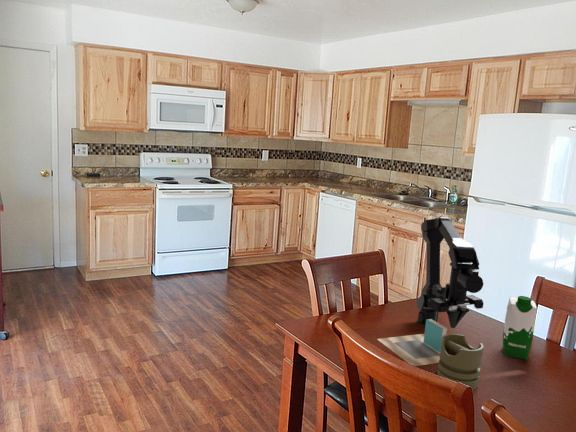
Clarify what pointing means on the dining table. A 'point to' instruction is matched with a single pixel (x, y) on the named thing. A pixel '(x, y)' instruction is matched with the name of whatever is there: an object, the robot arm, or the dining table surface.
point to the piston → (460, 360)
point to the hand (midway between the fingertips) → (452, 327)
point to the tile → (434, 334)
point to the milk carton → (519, 327)
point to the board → (412, 349)
